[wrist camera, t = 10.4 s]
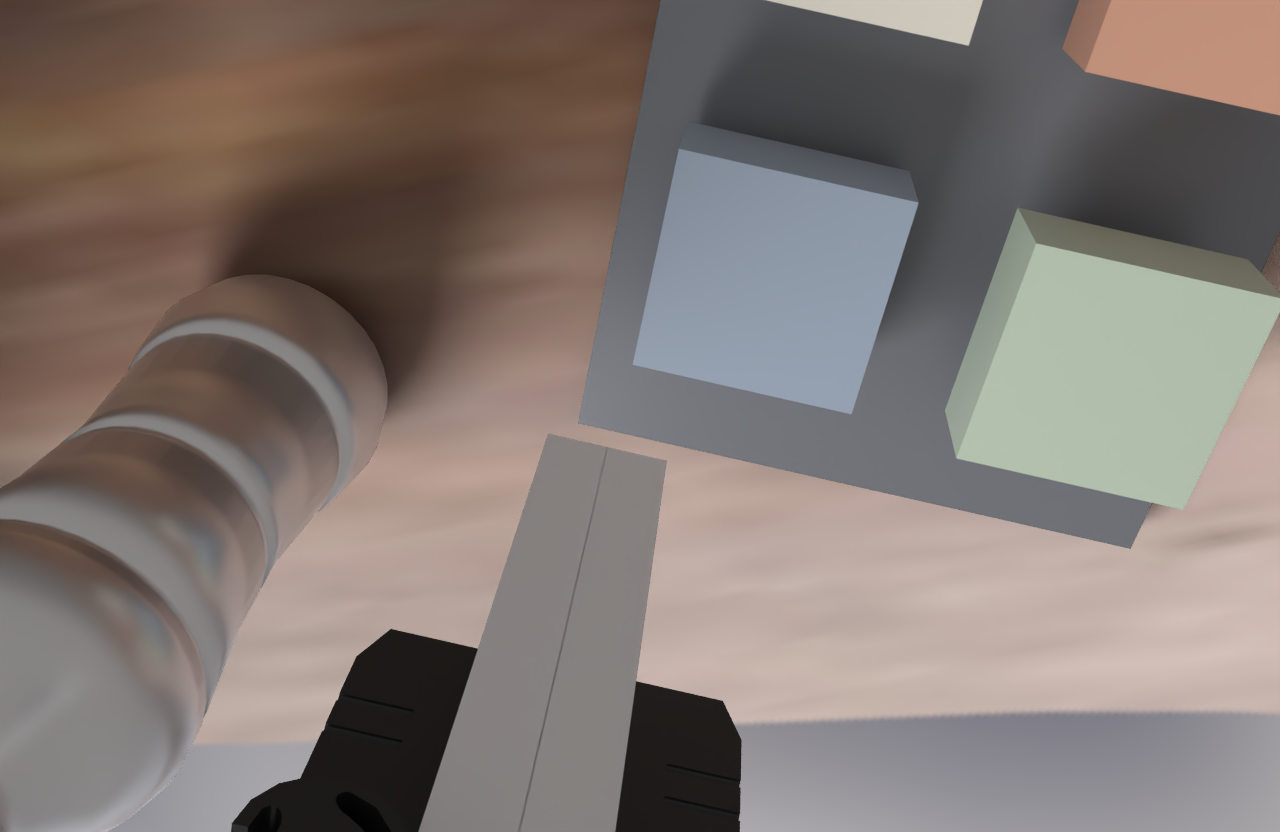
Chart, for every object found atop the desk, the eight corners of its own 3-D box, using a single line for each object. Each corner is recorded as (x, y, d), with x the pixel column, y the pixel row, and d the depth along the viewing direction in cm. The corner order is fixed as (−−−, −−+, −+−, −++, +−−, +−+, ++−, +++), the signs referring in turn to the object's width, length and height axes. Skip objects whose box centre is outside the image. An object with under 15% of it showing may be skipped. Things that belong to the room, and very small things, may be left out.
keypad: (583, 407, 35) (566, 457, 33) (764, -518, 25) (761, -555, 22) (1122, 529, 35) (1148, 590, 33) (1529, -351, 25) (1617, -366, 22)
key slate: (643, 324, 32) (632, 364, 30) (687, 121, 30) (678, 148, 27) (847, 370, 32) (851, 414, 30) (909, 171, 29) (918, 202, 27)
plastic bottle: (245, 205, 34) (-355, 671, 16) (450, 343, 35) (102, 916, 17) (151, 370, 36) (-449, 920, 19) (345, 493, 38) (-49, 1117, 20)
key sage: (944, 410, 31) (956, 458, 29) (1017, 207, 28) (1036, 243, 26) (1156, 457, 31) (1183, 509, 29) (1247, 259, 28) (1286, 299, 26)
